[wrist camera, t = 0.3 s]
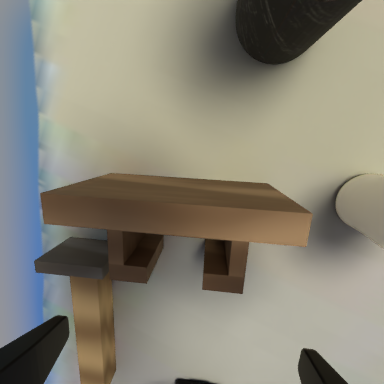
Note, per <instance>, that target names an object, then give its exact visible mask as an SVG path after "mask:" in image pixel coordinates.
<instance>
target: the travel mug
mask: <svg viewBox="0 0 384 384" xmlns="http://www.w3.org/2000/svg"><path fill="white" fill-rule="evenodd" d="M361 1H362V0H238V1H237V9H236V30H237V34H238V37H239V40H240V42H241V44H242V46H243V48H244V49H245V50H246V52H247V53H248V54H249V55H251V56H252V57H253V58H255V59H256V60H258V61H261V62H264V63H269V64H278V63H284V62H287V61H290V60H292V59H294V58H296V57H298V56H299V55H301V54H302V53H303V52H305V51H306V50H307V49H308V48H309V47H310V46H312V45H313V44H314V43H315V42H316V41H317V40H318V39H319V38H321V37H322V36H323V35H324V34H325V33H326V32H327V31H328V30H329V29H331V28H332V27H333V26H334V25H335V24H336V23H337V22H338V21H339V20H341V19H342V18H343V17H344V16H345V15H346V14H347V13H348V12H350V11H351V10H352V9H353V8H354V7H355V6H356V5H357V4H358V3H360V2H361Z"/></svg>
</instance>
